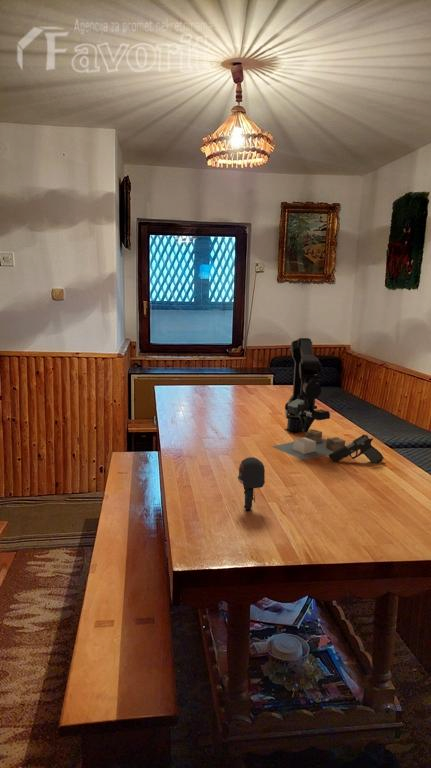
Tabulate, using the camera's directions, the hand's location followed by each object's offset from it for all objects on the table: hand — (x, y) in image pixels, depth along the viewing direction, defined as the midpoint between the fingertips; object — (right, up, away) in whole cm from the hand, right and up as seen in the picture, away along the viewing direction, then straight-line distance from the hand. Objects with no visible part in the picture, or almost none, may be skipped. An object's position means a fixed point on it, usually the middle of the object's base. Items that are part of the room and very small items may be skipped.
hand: (305, 432), depth 191 cm
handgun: (+17, -11, -9) cm, 22 cm away
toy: (-25, -17, -50) cm, 58 cm away
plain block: (0, -7, +1) cm, 7 cm away
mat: (+3, -7, +5) cm, 9 cm away
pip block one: (+6, -5, +14) cm, 16 cm away
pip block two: (+12, -7, +4) cm, 15 cm away
